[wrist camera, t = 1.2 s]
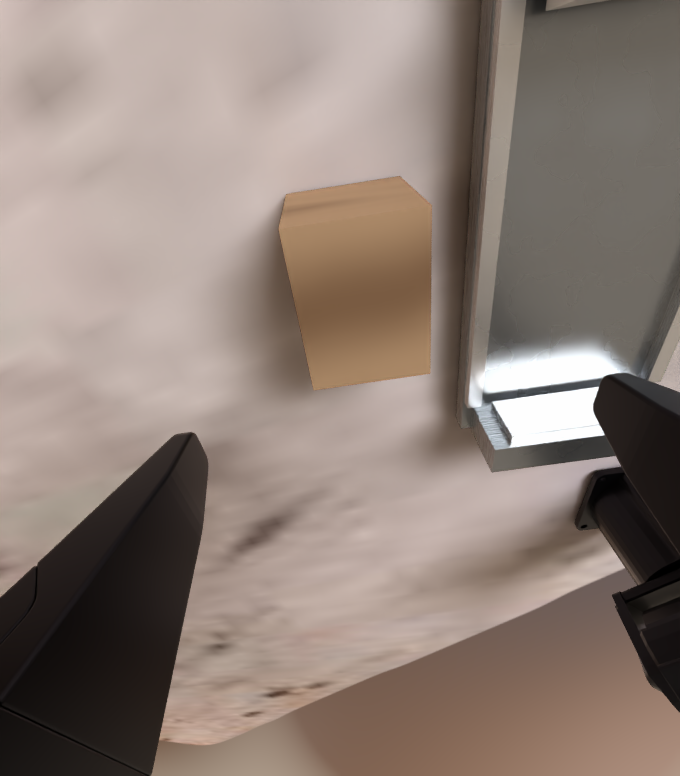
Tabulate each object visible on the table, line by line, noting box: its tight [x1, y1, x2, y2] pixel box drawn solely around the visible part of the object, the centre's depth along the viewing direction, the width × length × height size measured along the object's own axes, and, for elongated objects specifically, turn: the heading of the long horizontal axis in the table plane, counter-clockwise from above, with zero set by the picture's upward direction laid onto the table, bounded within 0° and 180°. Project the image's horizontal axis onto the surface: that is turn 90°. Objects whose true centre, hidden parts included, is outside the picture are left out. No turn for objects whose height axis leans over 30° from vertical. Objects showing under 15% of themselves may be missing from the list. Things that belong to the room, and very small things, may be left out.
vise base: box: [456, 0, 680, 472], centre depth 15 cm, size 20×10×4 cm, turn 7°
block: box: [278, 176, 432, 390], centre depth 15 cm, size 6×4×5 cm
